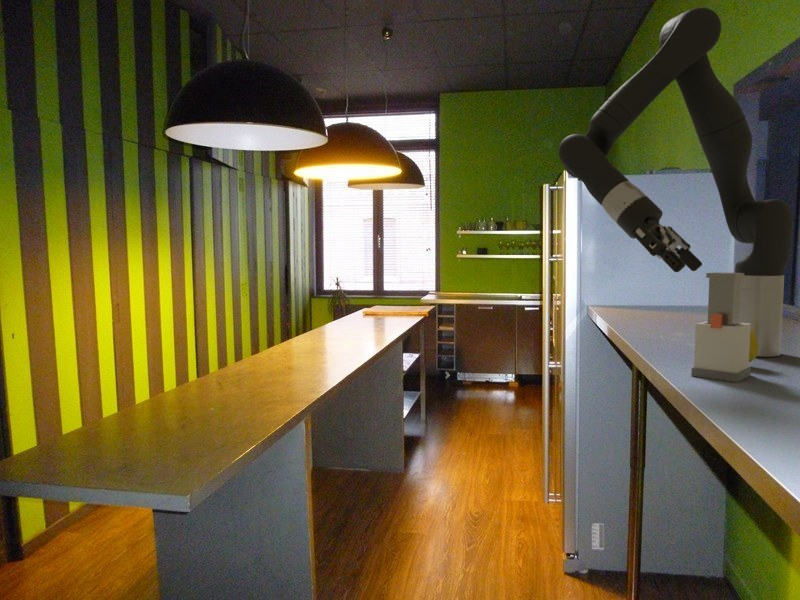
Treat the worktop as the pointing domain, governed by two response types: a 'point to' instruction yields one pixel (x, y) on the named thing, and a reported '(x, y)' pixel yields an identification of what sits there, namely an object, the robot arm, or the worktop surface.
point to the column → (724, 296)
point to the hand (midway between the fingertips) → (690, 268)
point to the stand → (722, 350)
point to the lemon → (753, 346)
